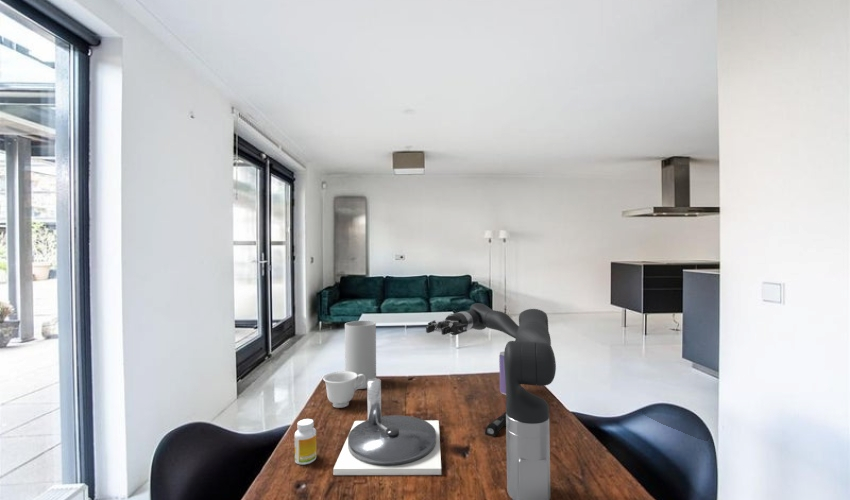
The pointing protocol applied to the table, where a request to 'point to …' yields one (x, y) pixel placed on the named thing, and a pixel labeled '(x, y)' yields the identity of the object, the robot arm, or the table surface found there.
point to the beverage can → (502, 373)
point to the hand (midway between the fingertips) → (434, 330)
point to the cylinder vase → (361, 350)
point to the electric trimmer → (496, 426)
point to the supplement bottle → (305, 442)
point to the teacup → (342, 387)
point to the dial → (389, 435)
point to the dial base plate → (420, 467)
